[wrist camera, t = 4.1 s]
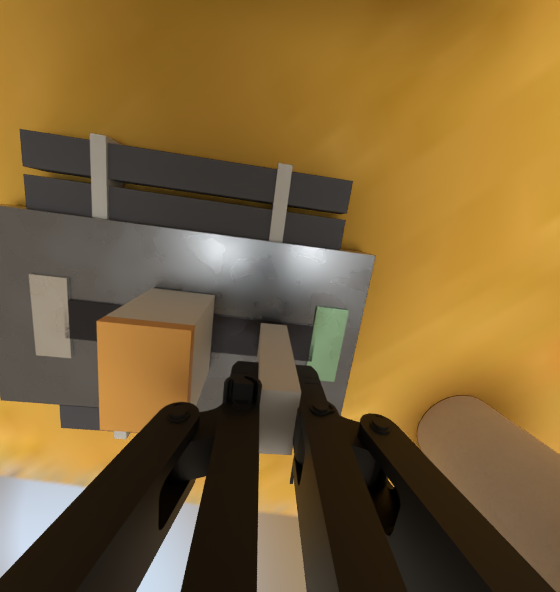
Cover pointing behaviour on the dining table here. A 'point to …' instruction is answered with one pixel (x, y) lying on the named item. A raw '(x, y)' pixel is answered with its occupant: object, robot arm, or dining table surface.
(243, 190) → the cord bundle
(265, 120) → the dining table surface
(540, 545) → the coffee cup
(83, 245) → the panel
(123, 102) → the dining table surface
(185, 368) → the lever
